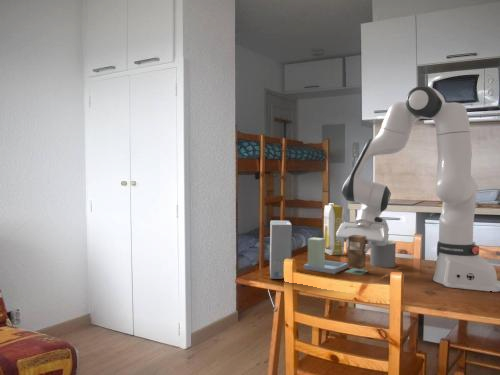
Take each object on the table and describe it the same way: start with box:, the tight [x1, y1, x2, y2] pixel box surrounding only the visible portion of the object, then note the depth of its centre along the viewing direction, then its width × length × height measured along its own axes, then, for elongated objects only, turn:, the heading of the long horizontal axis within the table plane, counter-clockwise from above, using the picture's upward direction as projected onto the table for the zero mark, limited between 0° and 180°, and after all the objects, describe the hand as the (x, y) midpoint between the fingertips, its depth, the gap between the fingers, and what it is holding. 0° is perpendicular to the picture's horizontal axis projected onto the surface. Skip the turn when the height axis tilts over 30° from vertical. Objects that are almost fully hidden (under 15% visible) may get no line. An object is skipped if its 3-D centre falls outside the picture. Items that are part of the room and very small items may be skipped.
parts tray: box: [303, 259, 349, 275], centre depth 177 cm, size 13×13×2 cm
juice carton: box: [323, 202, 345, 256], centre depth 209 cm, size 9×8×24 cm
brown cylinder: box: [347, 235, 367, 270], centre depth 171 cm, size 5×5×12 cm
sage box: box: [307, 236, 326, 267], centre depth 176 cm, size 5×5×12 cm
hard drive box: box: [269, 220, 293, 280], centre depth 168 cm, size 16×8×20 cm, turn 179°
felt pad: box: [344, 268, 369, 276], centre depth 172 cm, size 7×8×1 cm
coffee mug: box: [369, 240, 397, 268], centre depth 185 cm, size 13×10×10 cm
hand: (356, 250), depth 171 cm, fingers closed on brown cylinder, 5 cm apart
